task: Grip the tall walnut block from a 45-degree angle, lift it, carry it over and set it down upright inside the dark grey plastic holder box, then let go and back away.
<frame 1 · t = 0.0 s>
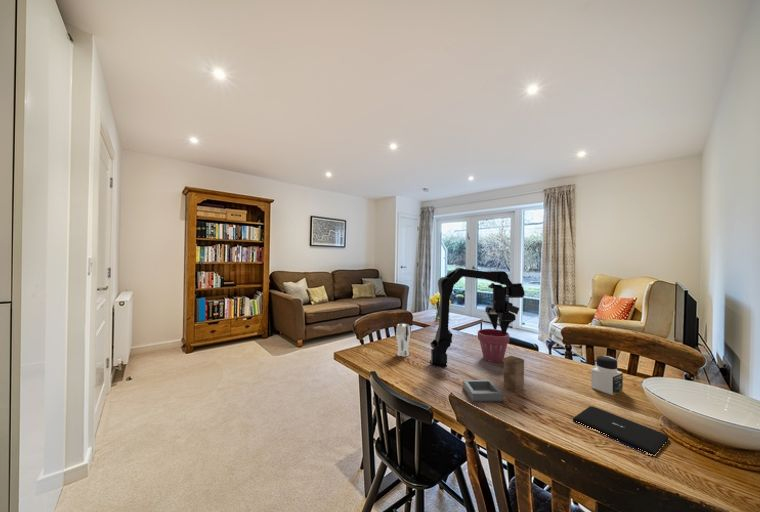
hand: (499, 331, 131), 15 cm above the table, tool pointing down, fingers open, 9 cm apart
laptop: (617, 432, 81), on the table
plant pot: (493, 359, 137), on the table
holder box: (482, 394, 101), on the table
medicine bottle: (606, 390, 105), on the table
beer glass: (403, 355, 142), on the table
walnut block: (513, 387, 106), on the table
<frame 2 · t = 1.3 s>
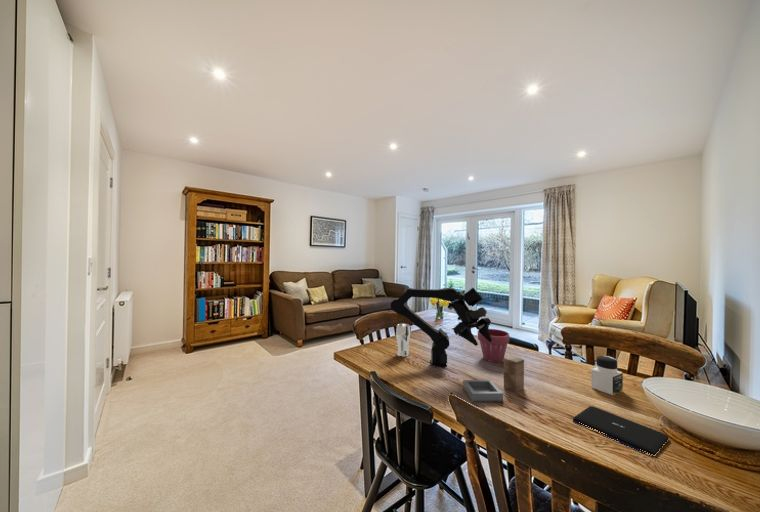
hand: (484, 343, 117), 13 cm above the table, tool tilted 45°, fingers open, 9 cm apart
nothing on the table moved.
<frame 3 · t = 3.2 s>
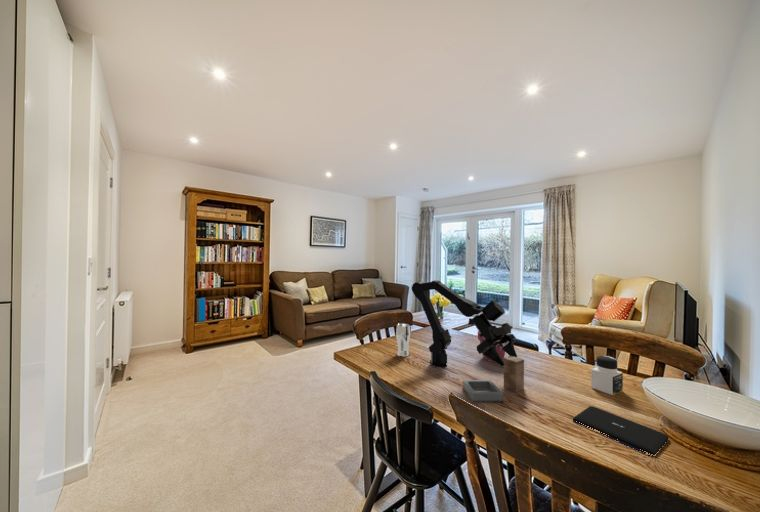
hand: (510, 363, 108), 9 cm above the table, tool tilted 45°, fingers open, 9 cm apart
nothing on the table moved.
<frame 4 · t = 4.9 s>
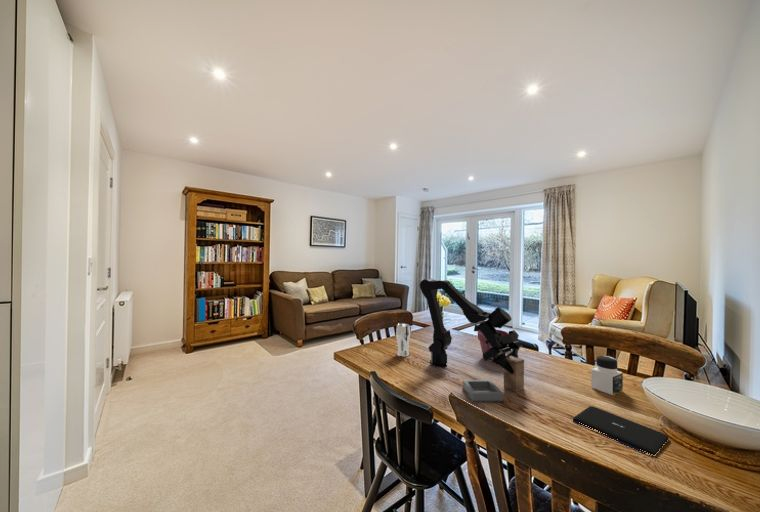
hand: (517, 371, 105), 7 cm above the table, tool tilted 45°, fingers closed on walnut block, 5 cm apart
walnut block: (513, 387, 106), on the table, touching gripper
everything else where it was.
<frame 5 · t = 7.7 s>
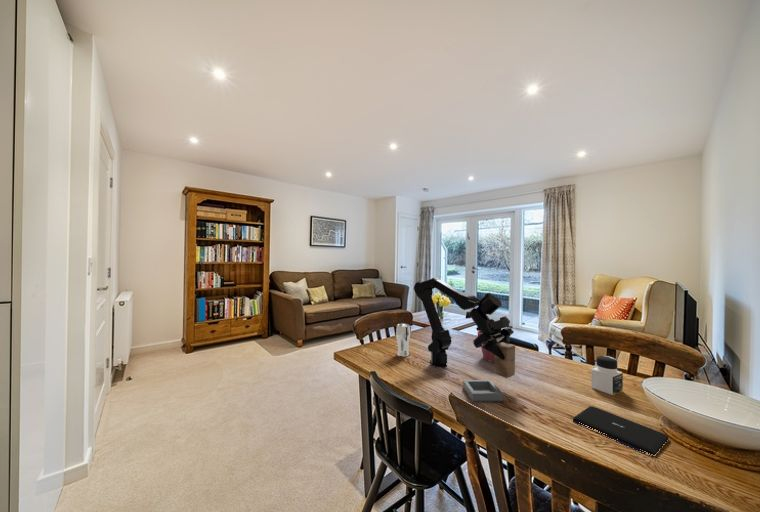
hand: (508, 357, 104), 12 cm above the table, tool tilted 45°, fingers closed on walnut block, 5 cm apart
walnut block: (504, 374, 105), point 6 cm above the table, touching gripper
everything else where it was.
when the fingers open (8 cm above the table, at t = 10.5 s): walnut block stays where it is, resting on holder box.
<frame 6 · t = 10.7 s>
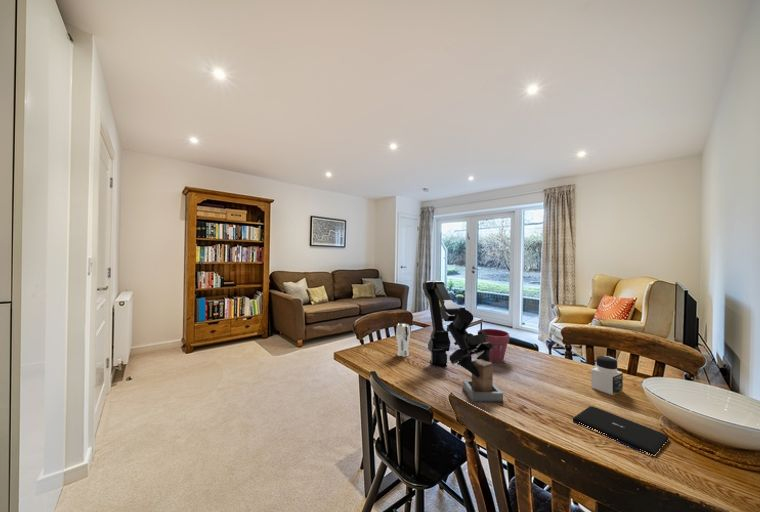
hand: (485, 374, 100), 8 cm above the table, tool tilted 45°, fingers open, 7 cm apart
walnut block: (482, 393, 101), point 1 cm above the table, touching holder box
everything else where it was.
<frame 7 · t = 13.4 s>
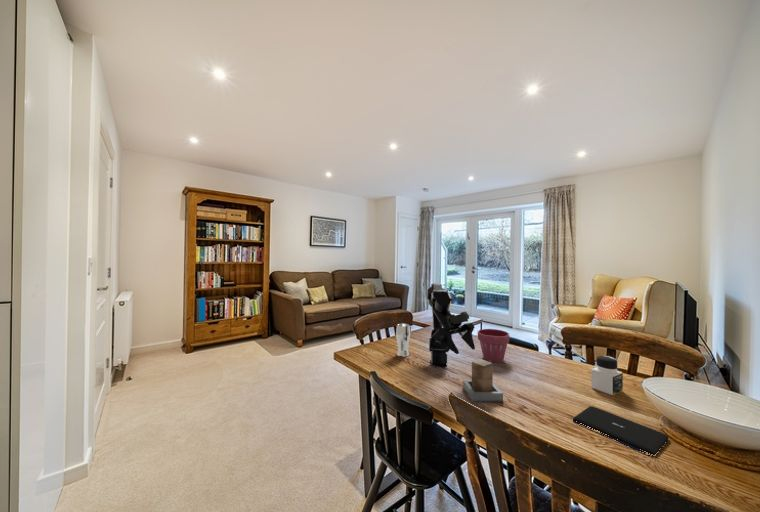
hand: (466, 351, 107), 13 cm above the table, tool tilted 45°, fingers open, 9 cm apart
nothing on the table moved.
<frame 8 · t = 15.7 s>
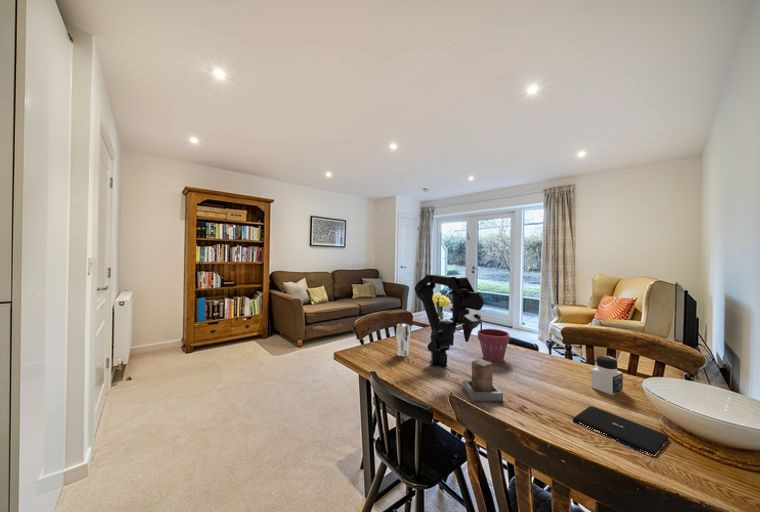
hand: (459, 343, 118), 13 cm above the table, tool pointing down, fingers open, 9 cm apart
nothing on the table moved.
at the end: walnut block 0.0 cm off-centre on the holder box, point 0.6 cm above the holder box's base; walnut block tilted 0°; the gripper is holding nothing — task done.
